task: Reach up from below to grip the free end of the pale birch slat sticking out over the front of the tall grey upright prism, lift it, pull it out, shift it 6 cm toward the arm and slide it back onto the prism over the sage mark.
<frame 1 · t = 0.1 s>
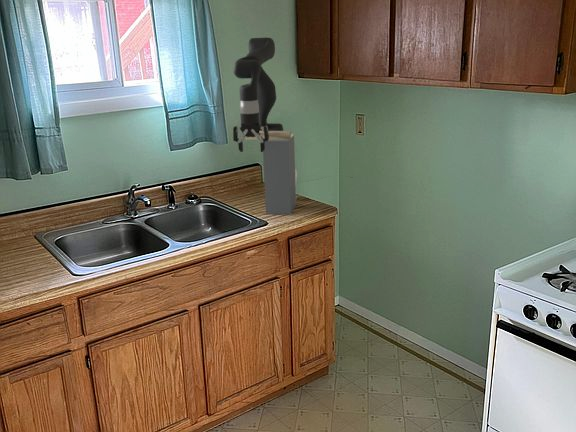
hand: (251, 151, 240), 29 cm above the worktop, tool pointing down, fingers open, 8 cm apart
tall grey upright prism: (281, 209, 262), on the worktop
beer glass: (290, 200, 275), on the worktop
birch slat: (268, 138, 251), point 32 cm above the worktop, touching tall grey upright prism
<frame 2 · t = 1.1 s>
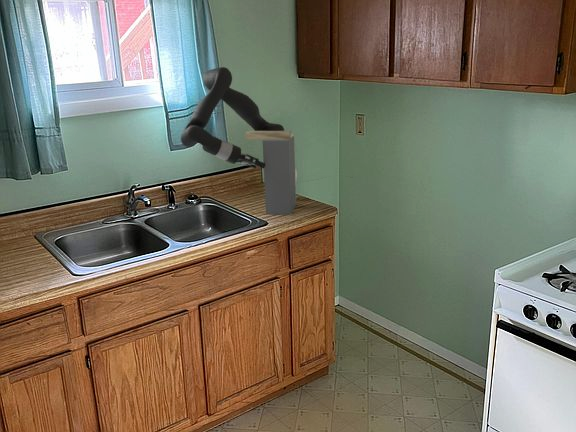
hand: (260, 166, 253), 21 cm above the worktop, tool tilted 60°, fingers open, 8 cm apart
nothing on the worktop moved.
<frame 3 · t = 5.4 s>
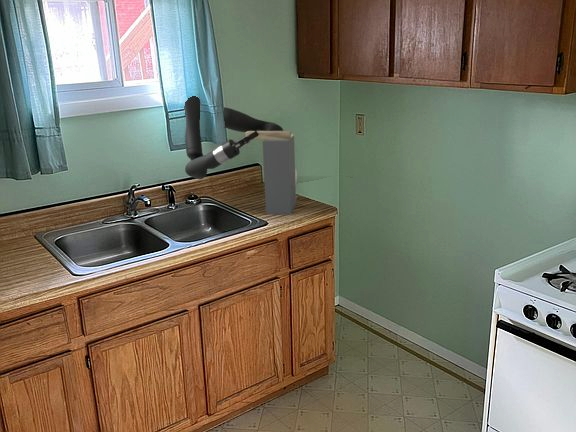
hand: (258, 132, 250), 35 cm above the worktop, tool pointing upward, fingers closed on birch slat, 4 cm apart
birch slat: (268, 138, 251), point 32 cm above the worktop, touching gripper, tall grey upright prism
everything else where it was.
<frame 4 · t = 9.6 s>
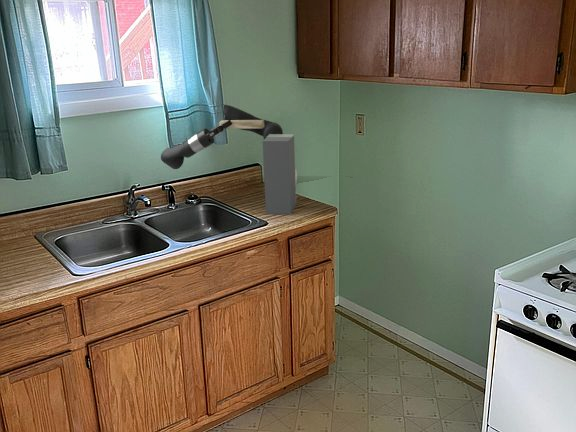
hand: (232, 121, 256), 39 cm above the worktop, tool pointing upward, fingers closed on birch slat, 4 cm apart
birch slat: (241, 127, 256), point 36 cm above the worktop, touching gripper
everything else where it was.
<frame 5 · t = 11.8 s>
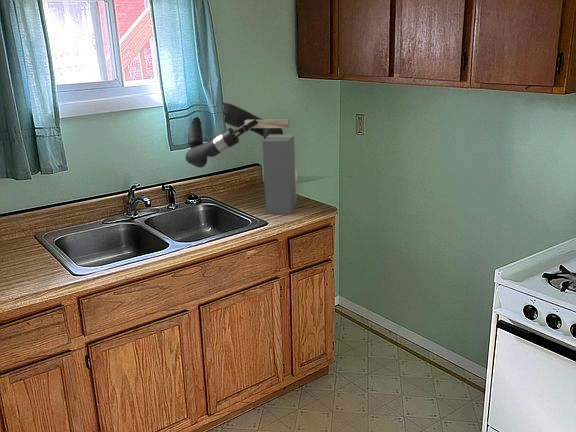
hand: (257, 120, 255), 39 cm above the worktop, tool pointing upward, fingers closed on birch slat, 4 cm apart
birch slat: (267, 127, 255), point 36 cm above the worktop, touching gripper
everything else where it was.
when the fingers open (36 cm above the worktop, at t = 13.6 s): birch slat stays where it is, resting on tall grey upright prism.
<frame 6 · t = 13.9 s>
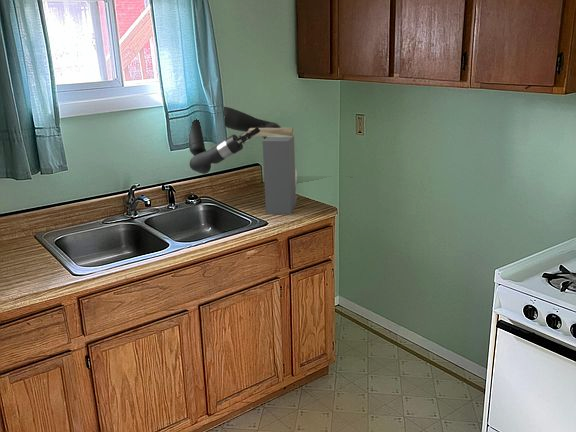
hand: (260, 127, 256), 36 cm above the worktop, tool pointing upward, fingers open, 6 cm apart
birch slat: (271, 135, 256), point 32 cm above the worktop, touching tall grey upright prism
everything else where it was.
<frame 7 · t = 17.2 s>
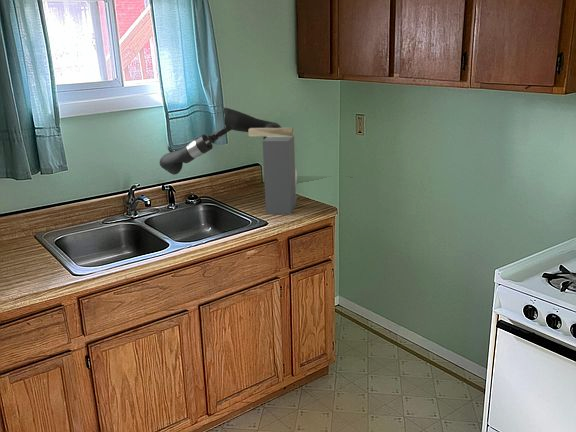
hand: (228, 128, 258), 35 cm above the worktop, tool pointing upward, fingers open, 8 cm apart
nothing on the worktop moved.
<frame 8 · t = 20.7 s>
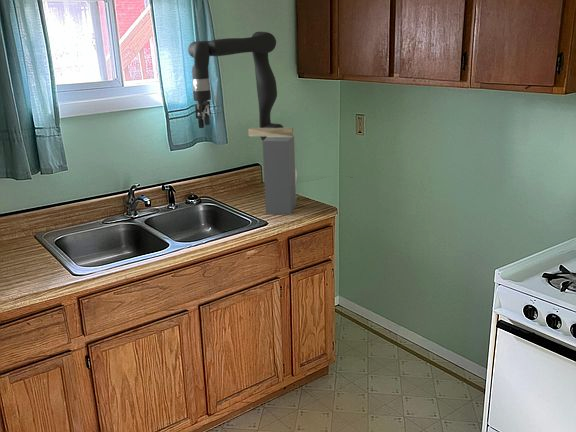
hand: (204, 126, 262), 36 cm above the worktop, tool pointing down, fingers open, 8 cm apart
nothing on the worktop moved.
at the end: birch slat 0.1 cm from the target spot, point 32.3 cm above the worktop; birch slat moved 5.9 cm from its start; the gripper is holding nothing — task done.
